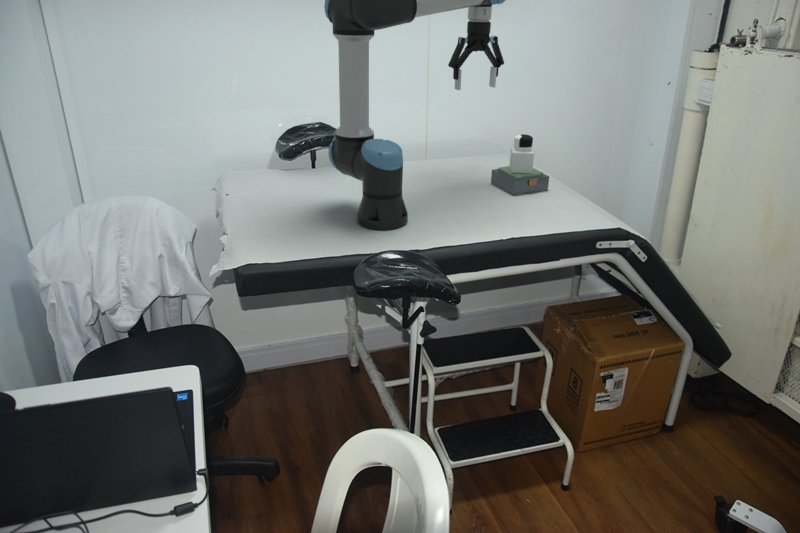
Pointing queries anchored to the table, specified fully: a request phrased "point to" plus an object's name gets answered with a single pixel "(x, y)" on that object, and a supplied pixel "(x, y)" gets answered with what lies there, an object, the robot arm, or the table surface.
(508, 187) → the stand
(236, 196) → the table surface
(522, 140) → the medicine bottle
